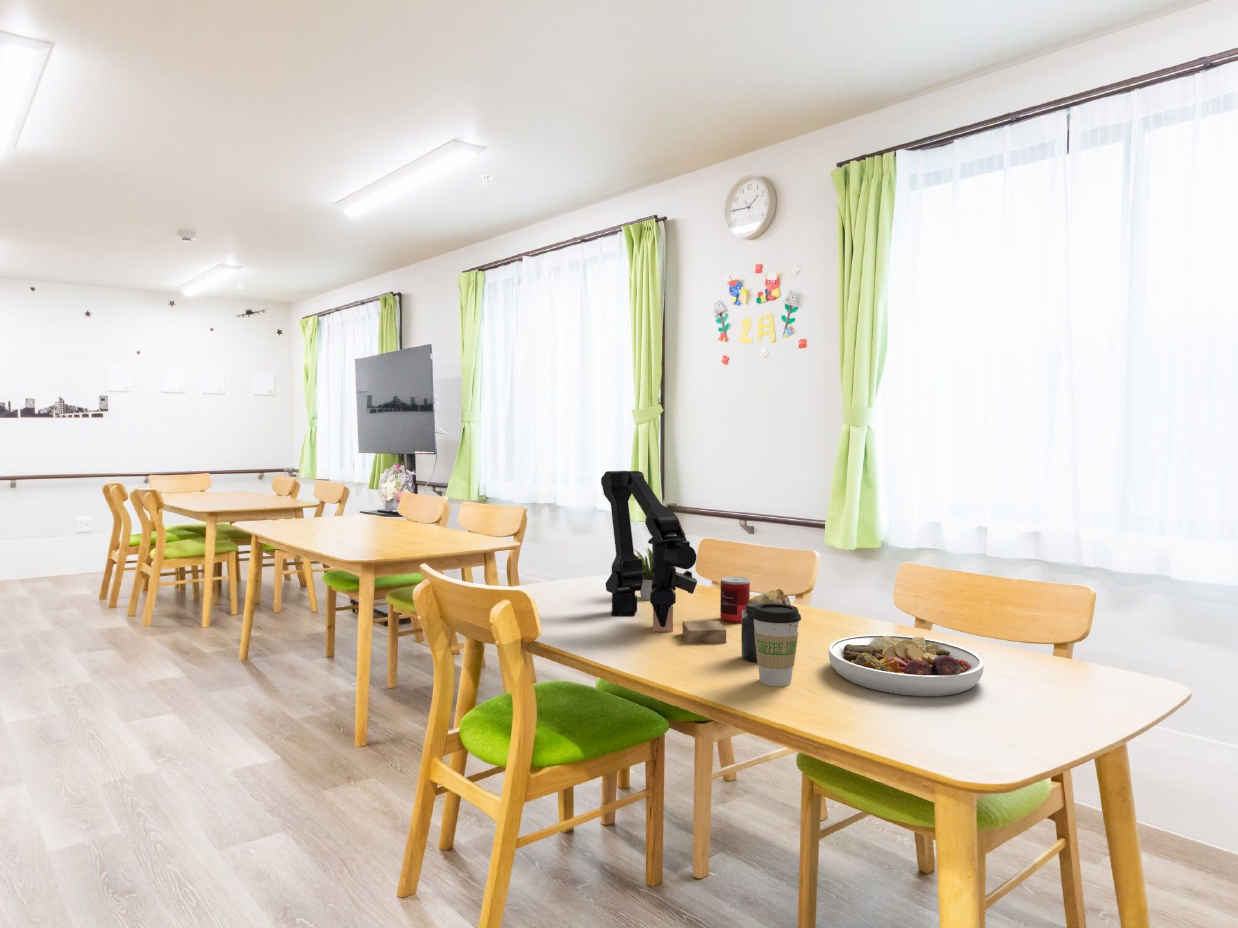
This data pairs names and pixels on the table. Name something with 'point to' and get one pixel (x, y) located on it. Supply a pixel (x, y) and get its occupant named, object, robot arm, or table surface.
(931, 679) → the bowl
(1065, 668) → the table surface
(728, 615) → the canned food
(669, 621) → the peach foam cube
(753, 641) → the supplement bottle
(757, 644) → the coffee cup
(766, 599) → the pastry
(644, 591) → the house plant
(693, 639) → the walnut box
